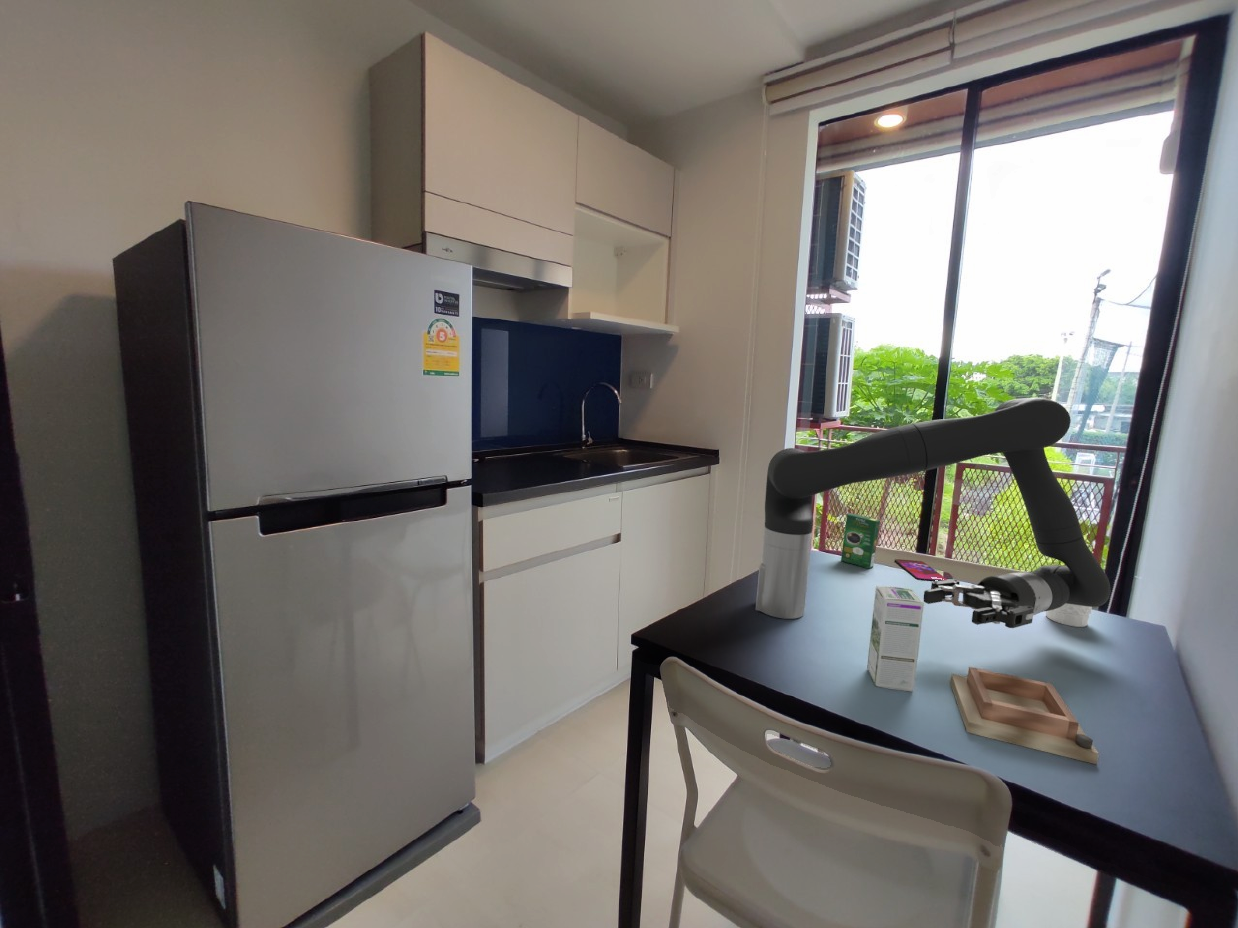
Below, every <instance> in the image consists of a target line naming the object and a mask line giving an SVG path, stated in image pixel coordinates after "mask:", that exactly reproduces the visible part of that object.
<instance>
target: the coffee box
mask: <svg viewBox="0 0 1238 928" xmlns="http://www.w3.org/2000/svg"><path fill="white" fill-rule="evenodd" d="M880 524H881V520H880V519H878V518H873V517H869V516H865V515H864V516H863V515H859V514H855V513H847V514H846V520H845V527H844V534H843V542H842V550H841V557H840V561H841V562H844V563H847V564H852V565H855V566H859V567H862V568H866V569H869V570H871V569H872V568H873V567H874V564H875V557H876V550H877V545H878V538H879V537H878V536H879V531H880V526H881V525H880Z"/></svg>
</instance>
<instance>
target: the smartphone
mask: <svg viewBox="0 0 1238 928" xmlns="http://www.w3.org/2000/svg"><path fill="white" fill-rule="evenodd" d="M894 562H895V564H897V565H898V566H899V567H901V568H902V570H904V571H905V572H907V573H908V575H910V576H912V577H913V578H914V579H915V580H918V581H925V582H926V581H927V582H929V581H930V582H934V581H935V580H938V581H943V579H944V580H948V579H947V578H946V577H945V576H943V575H942V574H941V573H939V572H938V571H937V570H935V569H933V568H932V567H931V566H930V565H929V564H927V563H926V562H924V561H922V560H912V559H911V560H910V559H898V558H897V559H894ZM931 577H937V578H942V580H941V579H932V578H931Z"/></svg>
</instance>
